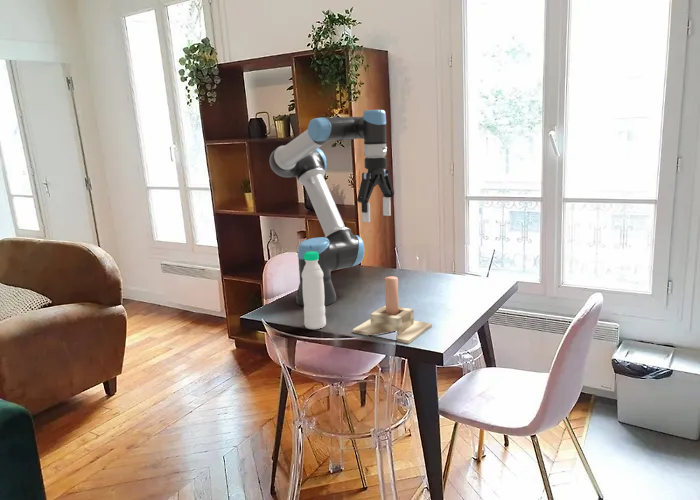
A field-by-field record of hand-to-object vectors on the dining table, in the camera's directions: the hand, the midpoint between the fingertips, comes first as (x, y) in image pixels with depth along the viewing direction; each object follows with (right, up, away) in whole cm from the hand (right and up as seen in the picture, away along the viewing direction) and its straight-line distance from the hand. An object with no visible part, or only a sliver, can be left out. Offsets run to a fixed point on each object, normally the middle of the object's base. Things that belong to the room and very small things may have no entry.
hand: (376, 218), depth 190 cm
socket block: (+4, -36, -16) cm, 40 cm away
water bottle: (-21, -36, -10) cm, 43 cm away
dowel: (+4, -35, -16) cm, 39 cm away
